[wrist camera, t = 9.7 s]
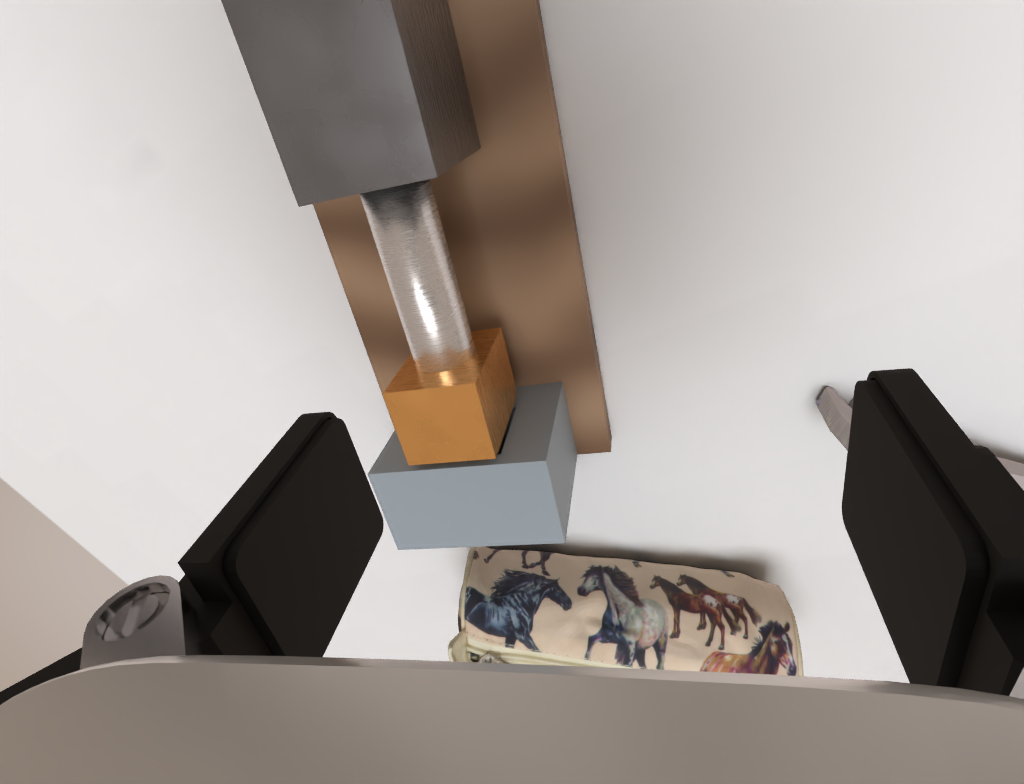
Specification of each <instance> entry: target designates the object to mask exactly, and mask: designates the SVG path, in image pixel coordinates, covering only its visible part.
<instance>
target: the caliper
mask: <svg viewBox="0 0 1024 784" xmlns="http://www.w3.org/2000/svg"><path fill="white" fill-rule="evenodd" d="M853 399H854V397H853ZM853 399H852V400H851V401H850V403H849V404H847V403H846V402H845V401H844V400H843V399H842V398H841V397H840V396H839V395H838V393H837V392H836V391H835V390H834V389H833V388H832V387H827V388H825V390H824V391H823V393H822V394H821V396H820V397H819V399H818V400H817V401H816V404H817V406H818V408H819V410H820V412H821V414H822V416H823V418H824V420H825V422H826V424H827V426H828V428H829V429H830V431H831V432H832V433H833V434H834V435H835V437H836V438H837V439H838V440H839V441H840V442H841V444H842V445H843V446H844V447H845V448H846V449H847V451H848V445H849V436H850V427H851V417H852V408H853ZM997 459H998V460H999V461H1000V462H1001V463H1002V465H1003V466H1004V467H1005V468H1006V470H1007V471H1008V472H1009V473H1010V474H1011V476H1012V477H1013V478H1014V479H1015V480H1016V482H1017V483H1018V484H1019V485H1020V487H1021V488H1022V489H1023V490H1024V464H1023V463H1019V462H1015V461H1012V460H1008V459H1004V458H1000V457H997Z"/></svg>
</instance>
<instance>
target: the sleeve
mask: <svg viewBox="0 0 1024 784" xmlns="http://www.w3.org/2000/svg"><path fill="white" fill-rule="evenodd" d="M221 1H222V4H223V6H224V9H225V12H226V14H227V17H228V20H229V22H230V25H231V28H232V30H233V33H234V36H235V38H236V41H237V44H238V46H239V49H240V52H241V54H242V57H243V59H244V62H245V65H246V67H247V70H248V73H249V75H250V78H251V81H252V83H253V86H254V89H255V91H256V94H257V97H258V99H259V102H260V105H261V107H262V110H263V113H264V115H265V118H266V121H267V123H268V126H269V129H270V131H271V134H272V137H273V139H274V142H275V145H276V147H277V150H278V153H279V155H280V158H281V161H282V163H283V166H284V169H285V171H286V174H287V177H288V179H289V182H290V185H291V187H292V190H293V193H294V195H295V198H296V201H297V203H298V206H299V207H300V206H304V205H309V204H314V203H319V202H323V201H328V200H333V199H338V198H342V197H347V196H352V195H357V194H361V193H366V192H371V191H376V190H380V189H385V188H390V187H395V186H399V185H404V184H409V183H414V182H418V181H423V180H428V179H433V178H437V177H439V176H440V175H442V174H443V173H445V172H446V171H448V170H449V169H451V168H452V167H454V166H455V165H457V164H458V163H460V162H461V161H463V160H464V159H466V158H467V157H469V156H470V155H472V154H473V153H475V152H476V151H478V150H479V149H481V145H480V140H479V136H478V131H477V127H476V123H475V118H474V114H473V109H472V105H471V101H470V96H469V92H468V87H467V83H466V78H465V74H464V70H463V65H462V61H461V56H460V52H459V48H458V43H457V39H456V34H455V30H454V26H453V21H452V17H451V12H450V8H449V3H448V0H221Z"/></svg>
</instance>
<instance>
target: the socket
mask: <svg viewBox="0 0 1024 784" xmlns="http://www.w3.org/2000/svg"><path fill="white" fill-rule="evenodd" d="M516 390H517V397H516V400H515V403H514V406H513V409H512V412H511V415H510V418H509V421H508V424H507V427H506V430H505V433H504V436H503V439H502V442H501V445H502V452H501V454H499V455H497V457H496V459H485V460H472V461H459V462H447V463H434V464H422V465H408V463H407V460H406V457H405V454H404V452H403V449H402V446H401V443H400V441H399V438H398V435H397V432H396V430H395V431H394V433H393V434H392V436H391V438H390V439H389V441H388V442H387V444H386V446H385V447H384V449H383V450H382V452H381V454H380V455H379V457H378V459H377V460H376V462H375V463H374V465H373V467H372V468H371V470H370V471H369V473H368V476H369V479H370V481H371V484H372V486H373V489H374V491H375V494H376V496H377V499H378V501H379V504H380V506H381V508H382V511H383V513H384V516H385V518H386V521H387V523H388V526H389V528H390V531H391V533H392V536H393V538H394V541H395V543H396V545H397V548H398V550H406V549H431V548H456V547H481V546H506V545H531V544H555V543H565V541H566V533H567V526H568V519H569V511H570V504H571V497H572V489H573V482H574V475H575V467H576V460H577V450H576V445H575V441H574V436H573V431H572V426H571V421H570V416H569V411H568V406H567V401H566V396H565V391H564V386H563V382H555V383H546V384H537V385H528V386H519V387H516Z"/></svg>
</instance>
